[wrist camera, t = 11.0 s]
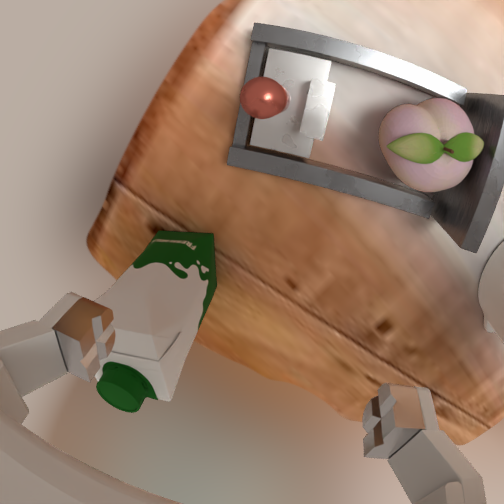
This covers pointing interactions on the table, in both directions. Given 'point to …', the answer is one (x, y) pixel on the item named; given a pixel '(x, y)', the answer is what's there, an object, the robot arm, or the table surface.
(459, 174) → the decorative fruit
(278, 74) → the handle
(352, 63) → the press base
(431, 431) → the robot arm
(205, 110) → the table surface
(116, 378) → the milk carton
